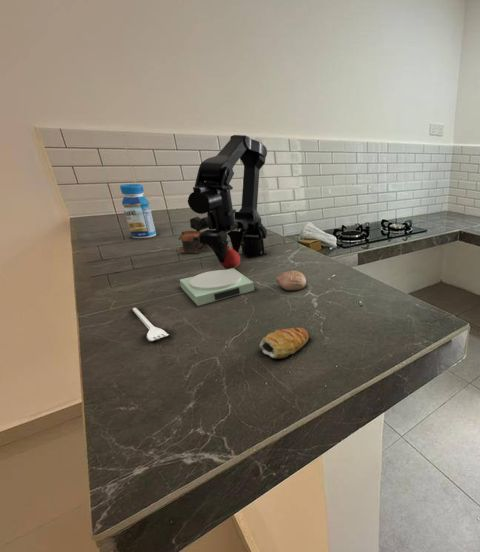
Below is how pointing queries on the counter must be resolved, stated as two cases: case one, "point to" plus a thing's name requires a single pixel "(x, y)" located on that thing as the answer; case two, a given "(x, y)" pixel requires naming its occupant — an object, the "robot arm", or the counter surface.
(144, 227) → the beverage bottle
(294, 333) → the pastry
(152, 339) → the fork
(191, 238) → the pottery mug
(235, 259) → the onion
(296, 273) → the pink oval lump
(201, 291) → the scale
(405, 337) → the counter surface
